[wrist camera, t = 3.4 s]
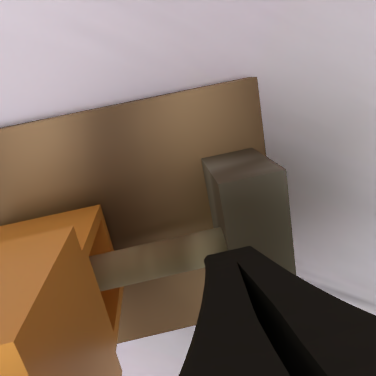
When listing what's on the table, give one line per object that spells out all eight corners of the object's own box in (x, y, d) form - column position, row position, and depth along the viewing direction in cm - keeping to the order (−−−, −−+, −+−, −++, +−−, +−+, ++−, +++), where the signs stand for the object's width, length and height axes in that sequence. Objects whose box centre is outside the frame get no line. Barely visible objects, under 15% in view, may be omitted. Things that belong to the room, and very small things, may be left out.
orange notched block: (94, 185, 12) (13, 342, 5) (128, 299, 13) (106, 543, 6) (-18, 209, 12) (-276, 409, 5) (30, 322, 13) (-105, 599, 6)
